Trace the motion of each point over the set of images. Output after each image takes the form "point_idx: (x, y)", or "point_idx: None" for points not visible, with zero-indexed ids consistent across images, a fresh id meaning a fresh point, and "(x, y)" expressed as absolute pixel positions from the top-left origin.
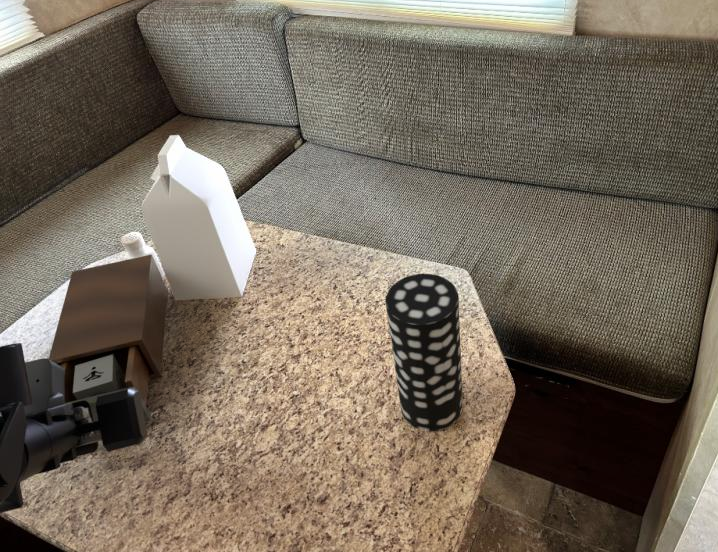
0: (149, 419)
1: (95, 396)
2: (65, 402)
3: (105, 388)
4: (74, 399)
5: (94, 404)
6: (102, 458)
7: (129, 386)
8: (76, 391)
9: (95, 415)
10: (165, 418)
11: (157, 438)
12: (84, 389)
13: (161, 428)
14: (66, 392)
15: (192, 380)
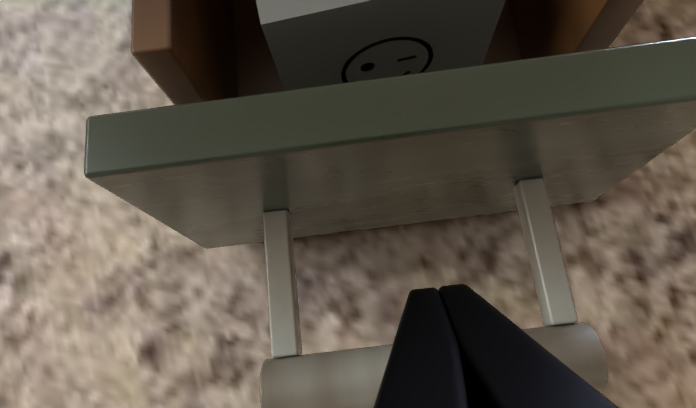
0: (600, 195)
1: (443, 77)
2: (202, 70)
3: (446, 15)
4: (225, 45)
5: (445, 138)
6: (390, 344)
7: (603, 22)
8: (284, 16)
9: (401, 183)
10: (628, 182)
11: (625, 283)
12: (335, 8)
13: (627, 231)
14: (196, 8)
15: (687, 12)
